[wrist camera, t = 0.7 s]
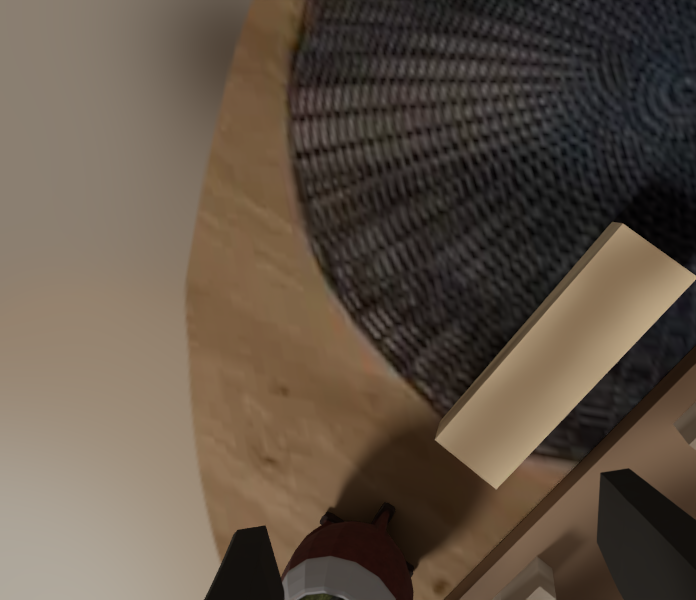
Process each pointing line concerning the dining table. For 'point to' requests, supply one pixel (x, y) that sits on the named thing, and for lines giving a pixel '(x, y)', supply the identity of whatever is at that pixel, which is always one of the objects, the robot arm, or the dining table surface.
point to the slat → (562, 352)
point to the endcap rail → (595, 503)
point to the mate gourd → (349, 562)
